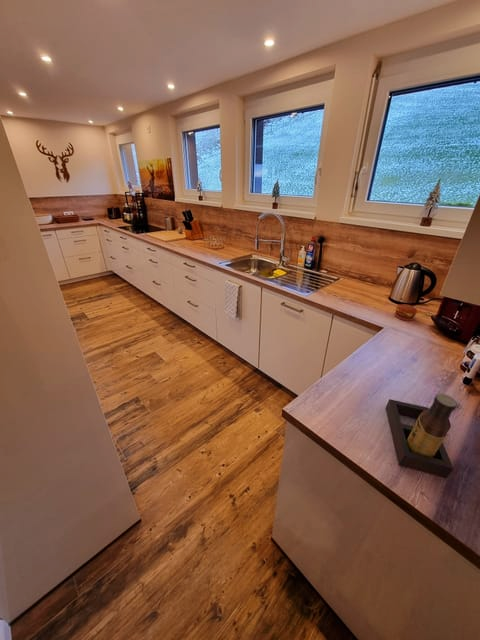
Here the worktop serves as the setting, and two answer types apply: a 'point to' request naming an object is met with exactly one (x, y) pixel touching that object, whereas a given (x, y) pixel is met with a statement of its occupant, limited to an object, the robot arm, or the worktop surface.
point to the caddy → (401, 432)
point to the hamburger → (405, 312)
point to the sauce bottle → (432, 426)
